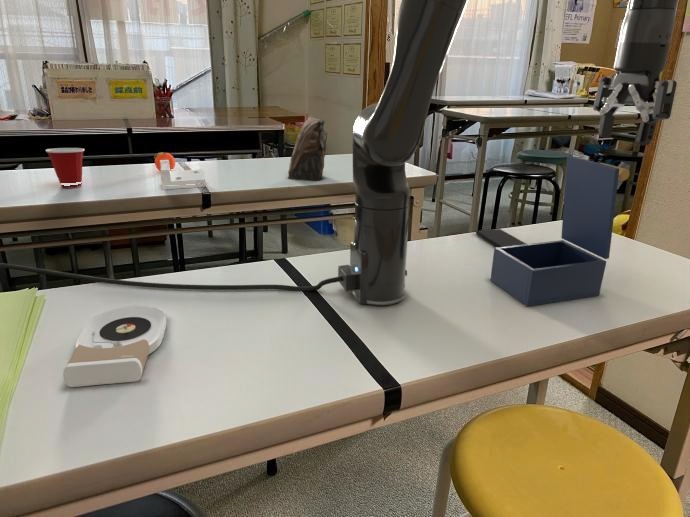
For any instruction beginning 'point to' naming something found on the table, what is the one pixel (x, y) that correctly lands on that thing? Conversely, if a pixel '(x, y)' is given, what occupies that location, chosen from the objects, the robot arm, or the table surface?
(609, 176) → the box lid
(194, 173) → the bracket
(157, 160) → the tomato
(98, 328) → the record player
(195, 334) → the table surface
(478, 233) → the smartphone
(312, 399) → the table surface
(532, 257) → the dark blue box
